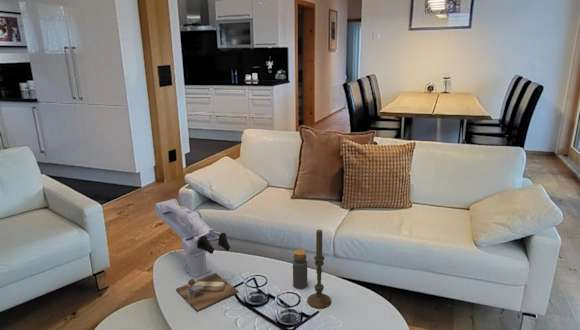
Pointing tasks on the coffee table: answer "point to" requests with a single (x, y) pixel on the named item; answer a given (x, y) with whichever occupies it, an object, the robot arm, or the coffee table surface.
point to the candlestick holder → (319, 278)
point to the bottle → (300, 269)
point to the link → (208, 285)
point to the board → (208, 293)
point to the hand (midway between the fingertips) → (220, 250)
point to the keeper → (193, 289)
